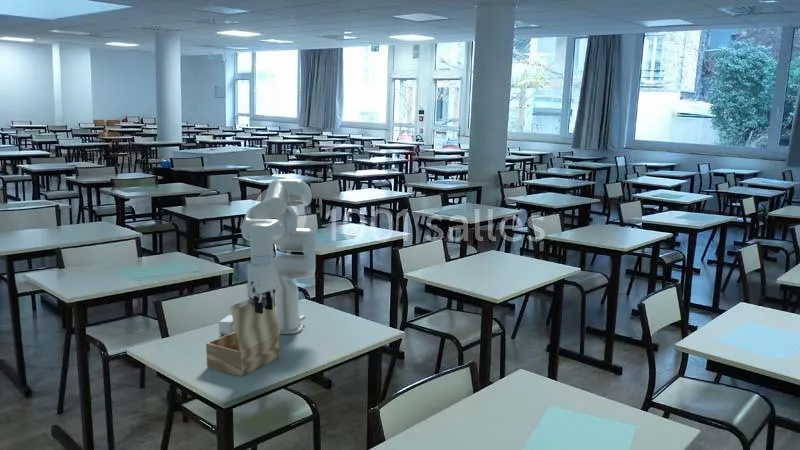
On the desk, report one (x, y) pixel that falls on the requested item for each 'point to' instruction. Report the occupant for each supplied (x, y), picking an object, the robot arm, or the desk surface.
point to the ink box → (226, 326)
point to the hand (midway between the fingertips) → (263, 310)
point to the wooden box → (240, 355)
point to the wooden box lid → (253, 323)
